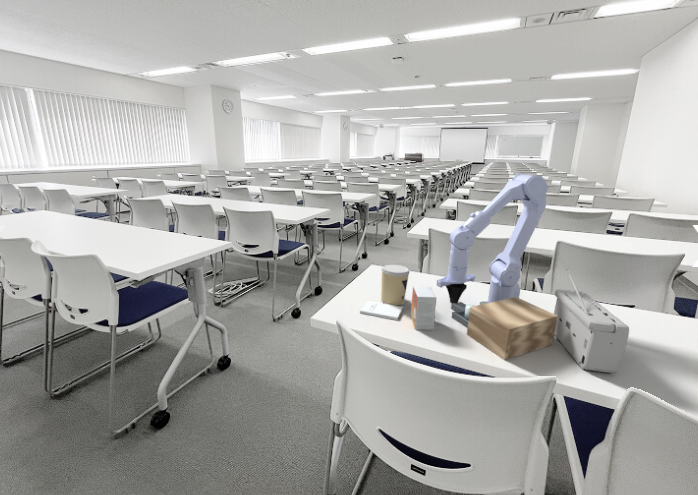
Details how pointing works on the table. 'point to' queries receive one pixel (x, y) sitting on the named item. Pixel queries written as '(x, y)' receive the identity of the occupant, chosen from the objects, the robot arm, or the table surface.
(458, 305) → the tray
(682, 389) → the table surface
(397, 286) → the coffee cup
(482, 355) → the table surface
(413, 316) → the small box
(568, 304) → the stereo radio cassette player
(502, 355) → the wood grain block
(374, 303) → the external hard drive
